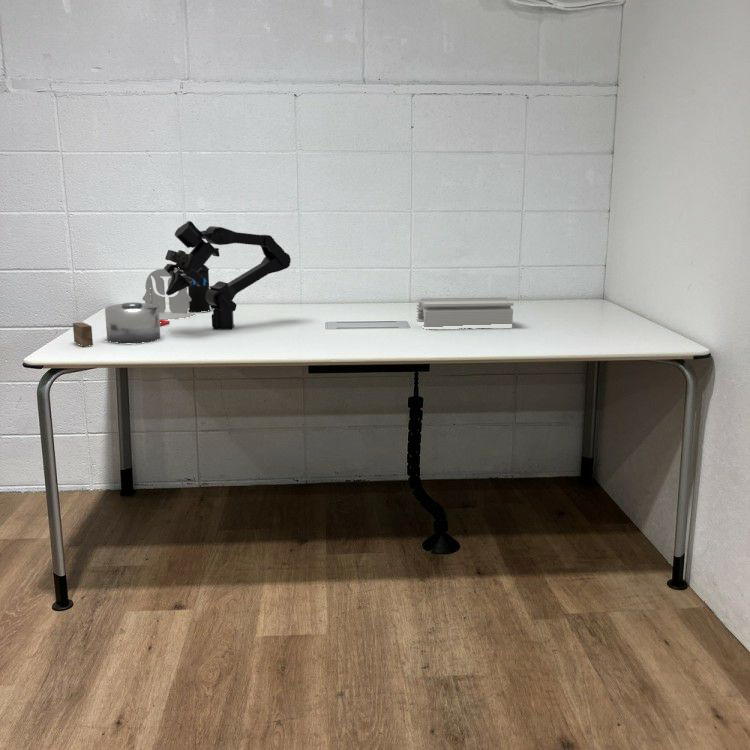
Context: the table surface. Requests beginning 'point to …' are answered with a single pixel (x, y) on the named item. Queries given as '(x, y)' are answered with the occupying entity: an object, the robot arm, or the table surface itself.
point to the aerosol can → (199, 293)
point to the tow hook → (163, 322)
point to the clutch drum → (132, 322)
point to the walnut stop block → (82, 334)
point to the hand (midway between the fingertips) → (167, 294)
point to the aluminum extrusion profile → (464, 311)
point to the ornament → (176, 303)
